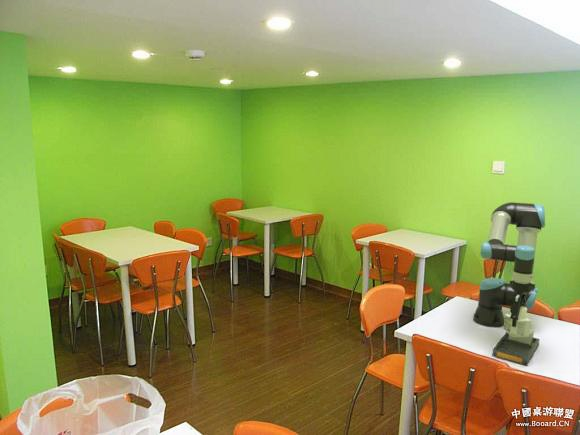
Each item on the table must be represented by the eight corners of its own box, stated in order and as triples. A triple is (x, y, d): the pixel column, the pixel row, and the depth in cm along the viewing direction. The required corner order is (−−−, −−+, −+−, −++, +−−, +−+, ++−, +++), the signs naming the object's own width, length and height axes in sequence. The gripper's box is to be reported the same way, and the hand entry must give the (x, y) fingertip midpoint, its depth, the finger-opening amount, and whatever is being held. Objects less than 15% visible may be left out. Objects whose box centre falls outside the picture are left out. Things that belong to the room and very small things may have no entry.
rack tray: (491, 356, 199) (492, 349, 198) (506, 336, 220) (507, 330, 219) (526, 366, 190) (527, 359, 190) (538, 344, 211) (539, 339, 210)
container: (502, 329, 203) (505, 302, 201) (519, 329, 204) (522, 302, 202) (512, 337, 195) (515, 308, 193) (529, 336, 196) (532, 308, 194)
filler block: (508, 340, 211) (509, 328, 210) (511, 335, 217) (513, 323, 216) (529, 346, 205) (530, 334, 204) (532, 340, 211) (534, 328, 210)
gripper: (525, 289, 184) (519, 340, 188) (536, 277, 202) (531, 323, 206) (506, 285, 189) (500, 335, 193) (518, 274, 207) (513, 319, 210)
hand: (516, 329), depth 199 cm, fingers closed on container, 10 cm apart
